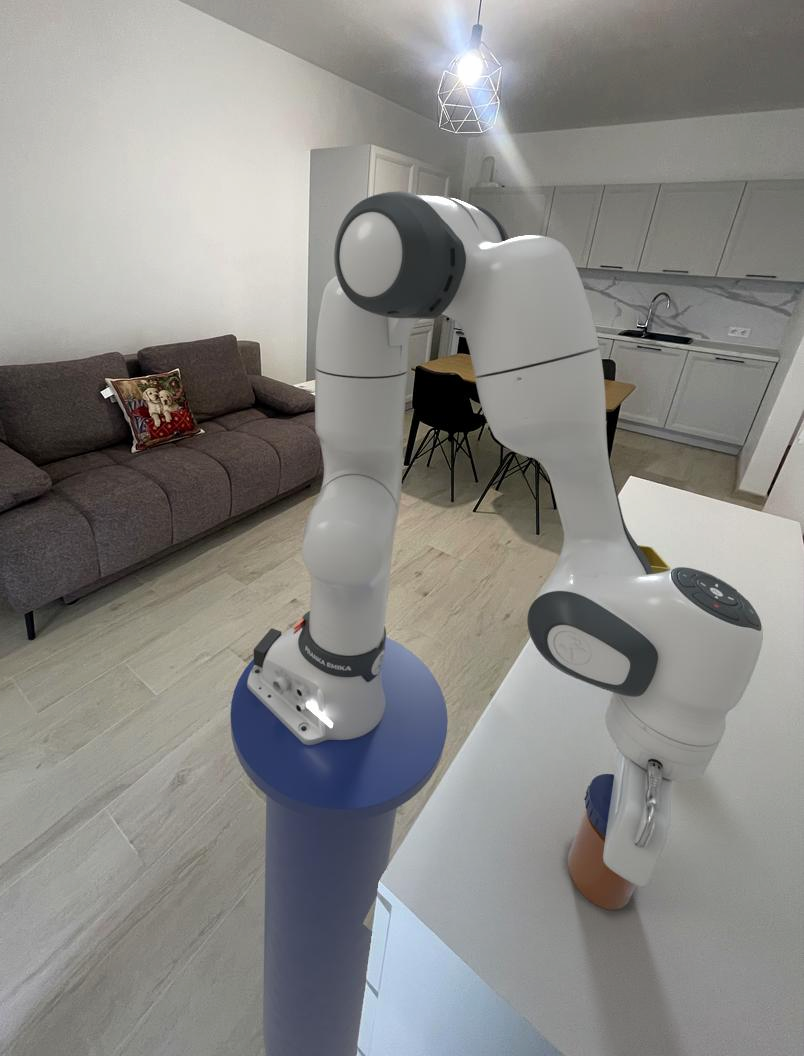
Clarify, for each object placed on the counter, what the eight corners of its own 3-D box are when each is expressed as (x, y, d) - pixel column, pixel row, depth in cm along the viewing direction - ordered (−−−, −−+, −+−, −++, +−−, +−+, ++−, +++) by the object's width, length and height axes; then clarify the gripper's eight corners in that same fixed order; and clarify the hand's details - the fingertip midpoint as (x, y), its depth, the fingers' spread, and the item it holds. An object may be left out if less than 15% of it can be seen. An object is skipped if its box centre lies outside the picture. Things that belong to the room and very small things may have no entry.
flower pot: (640, 579, 113) (652, 546, 110) (658, 604, 105) (671, 568, 102) (601, 575, 114) (611, 541, 110) (616, 599, 106) (628, 563, 102)
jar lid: (659, 809, 54) (665, 798, 53) (655, 870, 48) (661, 858, 48) (590, 771, 57) (594, 761, 57) (578, 824, 52) (583, 812, 51)
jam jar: (562, 883, 55) (585, 822, 52) (573, 831, 61) (594, 772, 57) (627, 925, 52) (657, 862, 48) (632, 866, 57) (659, 806, 54)
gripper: (699, 843, 38) (646, 944, 43) (694, 676, 55) (656, 763, 60) (610, 795, 41) (570, 894, 46) (631, 650, 58) (599, 736, 63)
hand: (618, 819), depth 53 cm, fingers closed on jar lid, 7 cm apart
